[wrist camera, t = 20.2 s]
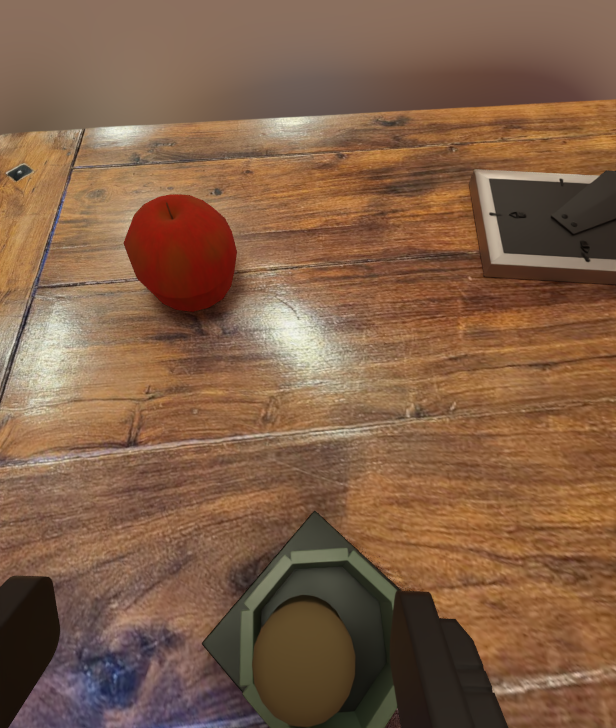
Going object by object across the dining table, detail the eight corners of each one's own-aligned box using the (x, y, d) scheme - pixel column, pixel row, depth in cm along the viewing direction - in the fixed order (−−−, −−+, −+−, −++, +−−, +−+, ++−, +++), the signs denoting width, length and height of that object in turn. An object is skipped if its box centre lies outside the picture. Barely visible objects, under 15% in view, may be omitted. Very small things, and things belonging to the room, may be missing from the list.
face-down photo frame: (632, 192, 54) (468, 183, 55) (648, 172, 52) (476, 163, 52) (675, 288, 46) (483, 276, 47) (696, 270, 44) (493, 258, 45)
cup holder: (331, 794, 26) (337, 842, 21) (204, 642, 30) (182, 651, 25) (437, 626, 31) (464, 631, 26) (314, 512, 35) (315, 496, 30)
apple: (130, 307, 45) (80, 222, 35) (183, 244, 49) (151, 153, 39) (212, 341, 43) (183, 261, 33) (259, 272, 47) (246, 183, 37)
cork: (292, 577, 32) (285, 566, 22) (363, 627, 30) (390, 639, 20) (244, 660, 29) (213, 689, 19) (319, 720, 27) (325, 784, 18)
